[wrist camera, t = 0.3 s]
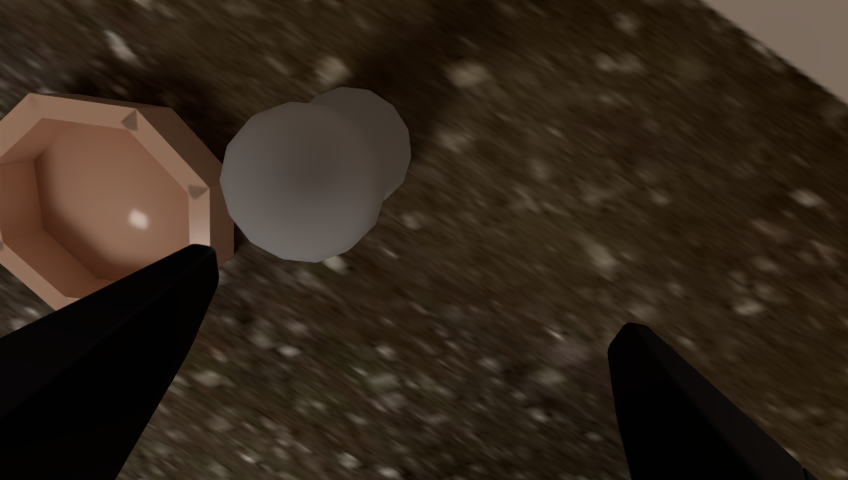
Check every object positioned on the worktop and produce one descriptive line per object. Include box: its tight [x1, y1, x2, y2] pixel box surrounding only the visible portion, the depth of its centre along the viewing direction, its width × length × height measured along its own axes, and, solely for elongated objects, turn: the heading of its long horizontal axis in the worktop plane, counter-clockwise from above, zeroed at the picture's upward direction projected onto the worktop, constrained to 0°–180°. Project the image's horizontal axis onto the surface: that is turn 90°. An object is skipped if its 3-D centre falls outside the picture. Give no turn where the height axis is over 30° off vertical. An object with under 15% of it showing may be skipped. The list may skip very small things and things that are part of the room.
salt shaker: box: [220, 87, 411, 262], centre depth 17 cm, size 6×6×13 cm
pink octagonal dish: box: [0, 93, 234, 310], centre depth 22 cm, size 11×11×3 cm
